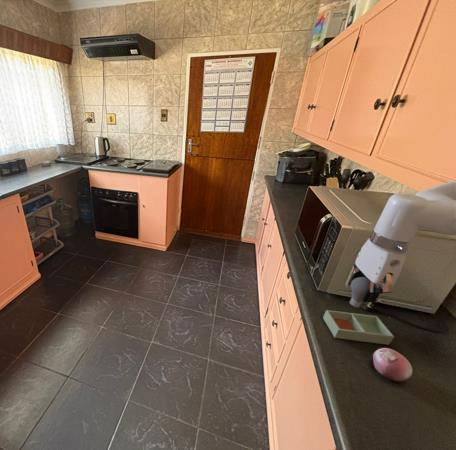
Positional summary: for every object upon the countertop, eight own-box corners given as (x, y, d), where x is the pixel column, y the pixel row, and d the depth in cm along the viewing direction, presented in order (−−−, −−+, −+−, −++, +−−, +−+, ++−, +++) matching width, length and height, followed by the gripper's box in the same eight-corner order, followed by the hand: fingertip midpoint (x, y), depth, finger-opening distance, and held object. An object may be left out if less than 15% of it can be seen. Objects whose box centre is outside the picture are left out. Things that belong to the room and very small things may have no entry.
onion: (362, 355, 71) (373, 338, 68) (393, 361, 70) (405, 344, 67) (378, 383, 64) (391, 365, 61) (412, 390, 63) (427, 373, 60)
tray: (372, 323, 82) (376, 315, 80) (389, 344, 75) (394, 336, 73) (322, 317, 84) (326, 309, 82) (334, 337, 77) (338, 329, 75)
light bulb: (371, 312, 72) (387, 286, 68) (351, 312, 72) (365, 286, 68) (356, 298, 78) (369, 272, 73) (337, 298, 78) (350, 272, 73)
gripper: (432, 261, 56) (395, 317, 65) (382, 227, 72) (357, 276, 80) (396, 258, 57) (364, 314, 66) (354, 224, 73) (332, 273, 81)
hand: (360, 292), depth 73 cm, fingers closed on light bulb, 6 cm apart
